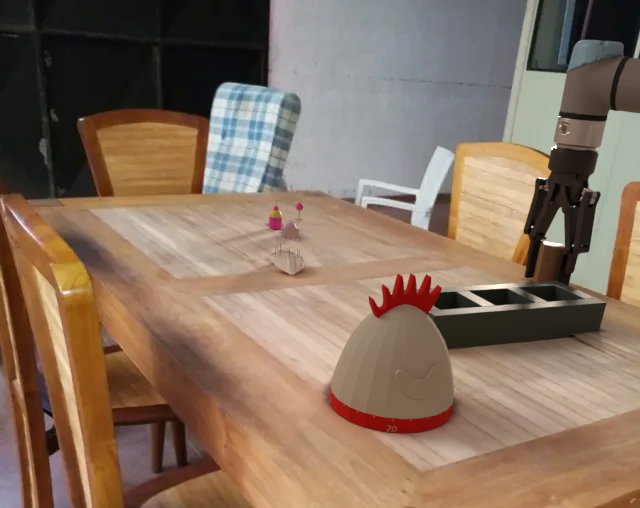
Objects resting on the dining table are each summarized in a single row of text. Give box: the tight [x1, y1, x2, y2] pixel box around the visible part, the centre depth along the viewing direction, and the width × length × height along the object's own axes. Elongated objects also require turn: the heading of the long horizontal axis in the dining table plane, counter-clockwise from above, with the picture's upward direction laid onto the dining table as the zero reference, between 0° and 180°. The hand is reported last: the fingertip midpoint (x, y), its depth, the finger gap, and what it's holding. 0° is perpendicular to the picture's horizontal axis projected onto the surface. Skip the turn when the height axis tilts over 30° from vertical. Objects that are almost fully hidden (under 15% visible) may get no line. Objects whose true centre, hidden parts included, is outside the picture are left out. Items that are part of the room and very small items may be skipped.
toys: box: [268, 199, 304, 240], centre depth 154 cm, size 18×8×6 cm, turn 6°
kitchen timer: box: [328, 273, 455, 434], centre depth 77 cm, size 14×14×15 cm
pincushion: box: [268, 237, 305, 276], centre depth 126 cm, size 12×6×6 cm, turn 11°
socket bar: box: [404, 281, 608, 350], centre depth 105 cm, size 11×30×5 cm, turn 113°
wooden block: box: [531, 241, 565, 282], centre depth 125 cm, size 4×4×8 cm
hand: (545, 283), depth 127 cm, fingers open, 7 cm apart
